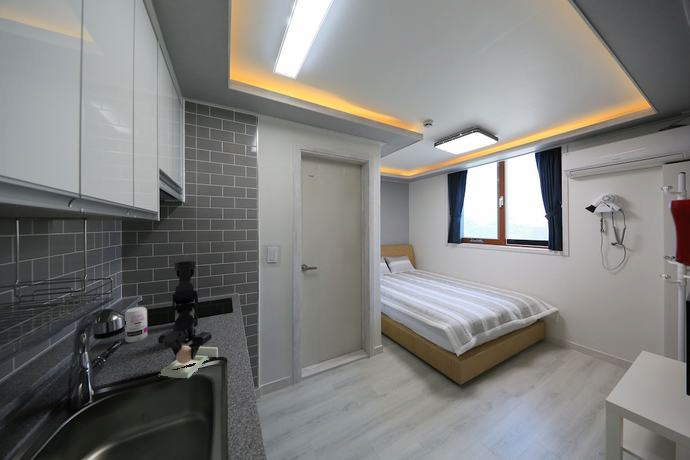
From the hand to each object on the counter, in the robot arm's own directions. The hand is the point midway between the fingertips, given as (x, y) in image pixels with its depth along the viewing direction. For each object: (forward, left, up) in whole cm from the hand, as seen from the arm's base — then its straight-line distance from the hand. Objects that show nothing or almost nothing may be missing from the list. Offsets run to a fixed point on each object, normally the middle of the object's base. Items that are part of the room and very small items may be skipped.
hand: (185, 358), depth 93 cm
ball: (0, 0, -2) cm, 2 cm away
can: (-32, +36, -4) cm, 48 cm away
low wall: (0, +8, -4) cm, 9 cm away
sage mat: (0, 0, -4) cm, 4 cm away
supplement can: (-42, +19, -4) cm, 46 cm away
